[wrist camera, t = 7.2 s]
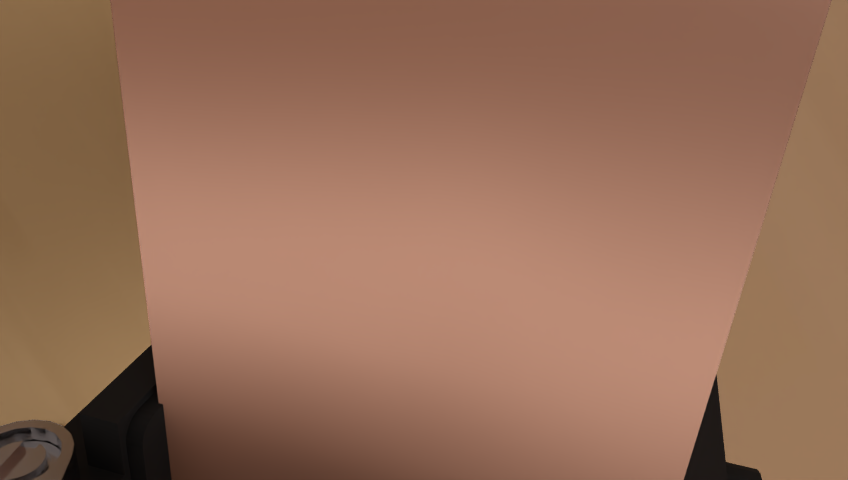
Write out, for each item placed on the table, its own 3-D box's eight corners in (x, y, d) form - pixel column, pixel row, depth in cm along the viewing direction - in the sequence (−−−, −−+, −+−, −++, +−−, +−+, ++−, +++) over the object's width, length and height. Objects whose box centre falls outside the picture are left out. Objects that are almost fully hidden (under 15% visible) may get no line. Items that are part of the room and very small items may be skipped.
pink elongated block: (292, -111, 10) (99, -94, 7) (768, -65, 9) (836, -18, 5) (299, 593, 17) (204, 785, 13) (575, 677, 15) (549, 914, 12)
